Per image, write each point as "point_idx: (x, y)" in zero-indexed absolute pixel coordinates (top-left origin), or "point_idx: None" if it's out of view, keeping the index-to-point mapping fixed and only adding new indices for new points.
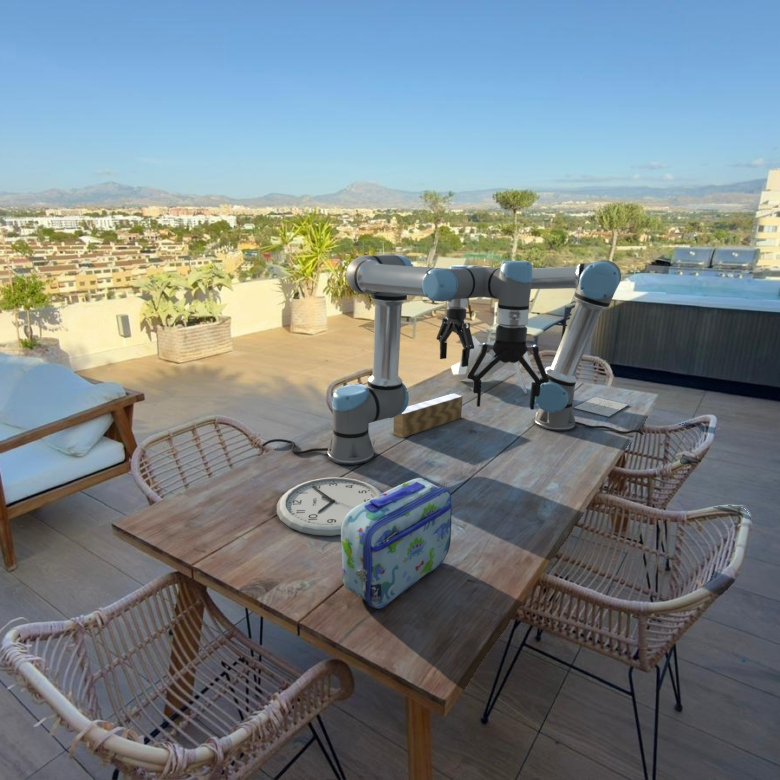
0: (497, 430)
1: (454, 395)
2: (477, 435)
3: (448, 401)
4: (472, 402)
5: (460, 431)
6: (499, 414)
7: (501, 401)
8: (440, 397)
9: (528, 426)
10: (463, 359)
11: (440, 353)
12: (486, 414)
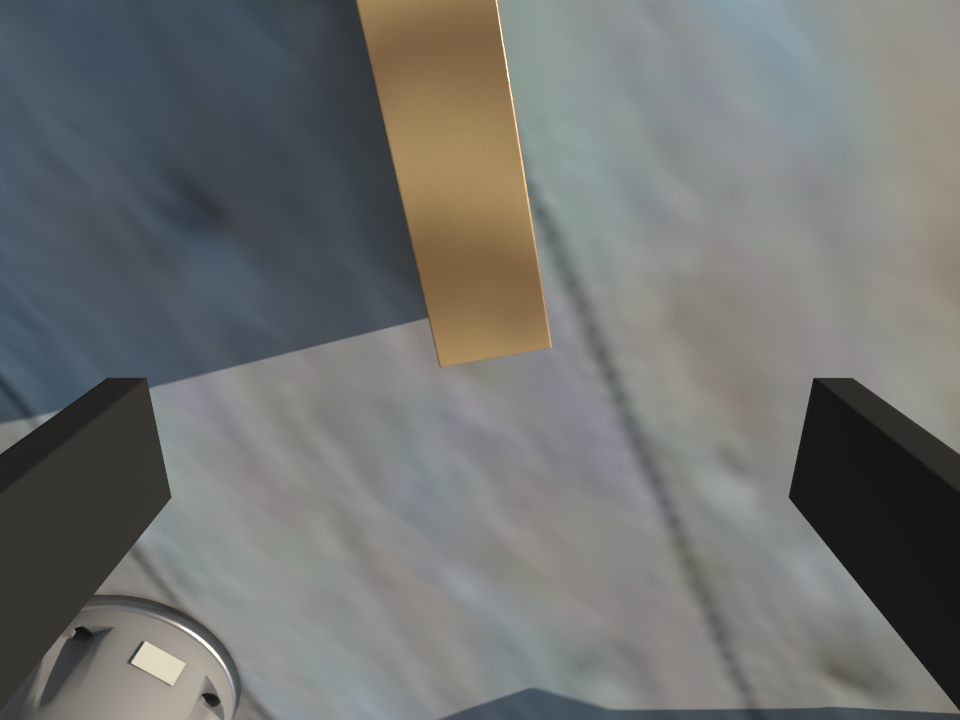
0: (156, 366)
1: (491, 315)
2: (117, 191)
3: (396, 169)
4: (651, 549)
5: (225, 130)
6: (389, 547)
7: (566, 687)
8: (509, 153)
9: (153, 554)
10: (5, 466)
11: (909, 431)
12: (426, 486)
